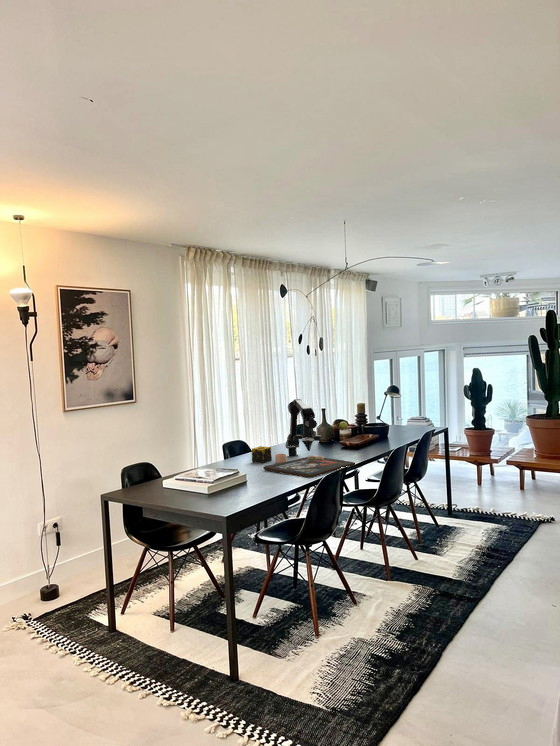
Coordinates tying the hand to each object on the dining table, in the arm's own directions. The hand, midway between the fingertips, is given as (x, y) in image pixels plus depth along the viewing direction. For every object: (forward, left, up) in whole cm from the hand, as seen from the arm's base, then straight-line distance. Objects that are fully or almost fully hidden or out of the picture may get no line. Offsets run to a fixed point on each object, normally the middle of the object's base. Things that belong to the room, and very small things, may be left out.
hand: (308, 451), depth 359 cm
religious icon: (+8, +3, -10) cm, 13 cm away
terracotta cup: (-3, -23, -9) cm, 25 cm away
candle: (-2, -37, -9) cm, 38 cm away
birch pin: (-4, -3, -6) cm, 7 cm away
